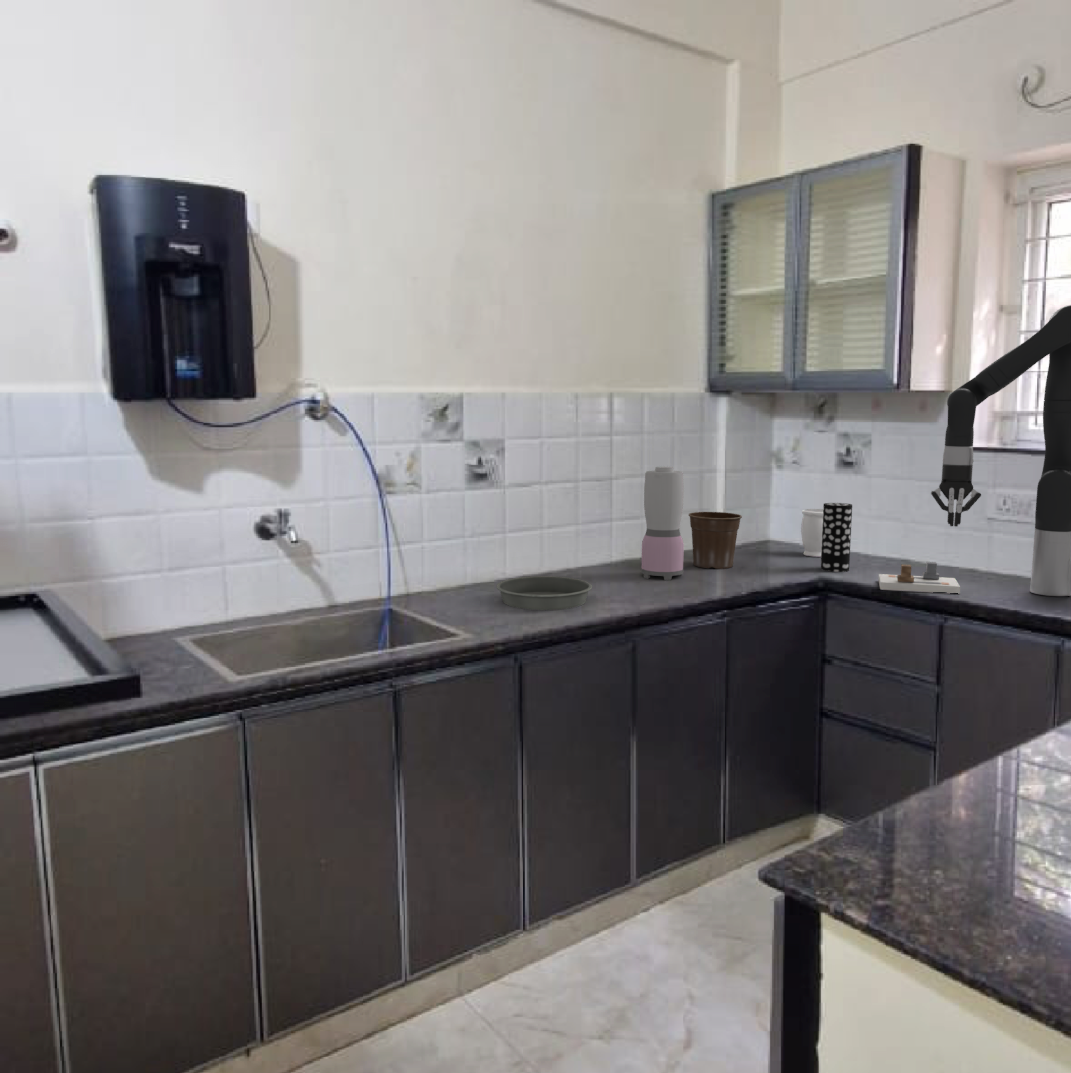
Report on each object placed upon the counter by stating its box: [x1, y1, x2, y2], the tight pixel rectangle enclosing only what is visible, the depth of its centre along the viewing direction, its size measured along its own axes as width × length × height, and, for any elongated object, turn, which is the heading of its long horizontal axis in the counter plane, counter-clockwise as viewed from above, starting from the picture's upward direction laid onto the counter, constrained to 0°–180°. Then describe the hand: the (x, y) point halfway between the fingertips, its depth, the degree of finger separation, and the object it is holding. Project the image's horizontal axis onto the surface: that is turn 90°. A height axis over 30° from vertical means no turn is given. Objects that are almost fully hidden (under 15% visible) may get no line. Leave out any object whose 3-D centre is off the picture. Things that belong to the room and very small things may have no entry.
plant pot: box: [688, 511, 743, 570], centre depth 295 cm, size 16×16×16 cm
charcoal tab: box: [922, 561, 940, 579], centre depth 265 cm, size 4×4×4 cm
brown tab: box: [897, 564, 914, 582], centre depth 260 cm, size 4×4×4 cm
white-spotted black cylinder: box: [820, 502, 853, 573], centre depth 289 cm, size 8×8×20 cm
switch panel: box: [878, 573, 961, 595], centre depth 263 cm, size 20×13×2 cm, turn 72°
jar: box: [800, 508, 823, 558], centre depth 316 cm, size 11×10×15 cm
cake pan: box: [496, 575, 593, 611], centre depth 244 cm, size 25×25×4 cm
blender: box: [640, 465, 685, 581], centre depth 278 cm, size 16×12×32 cm
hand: (953, 525), depth 261 cm, fingers closed
